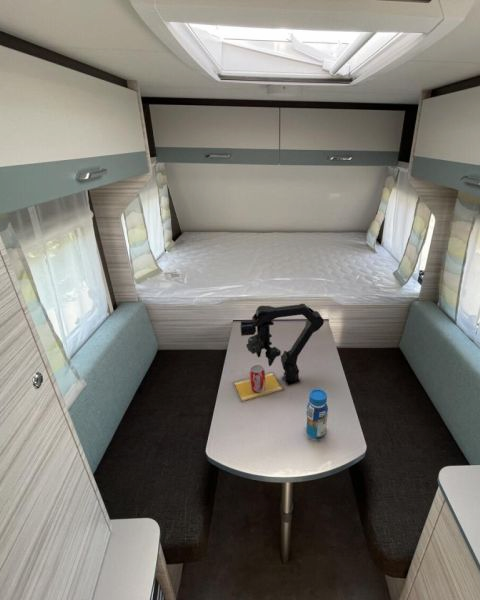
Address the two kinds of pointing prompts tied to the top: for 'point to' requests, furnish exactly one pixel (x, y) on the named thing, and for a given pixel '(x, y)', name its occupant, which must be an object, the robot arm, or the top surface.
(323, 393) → the beverage bottle
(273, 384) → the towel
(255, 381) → the soda can
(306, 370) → the top surface
